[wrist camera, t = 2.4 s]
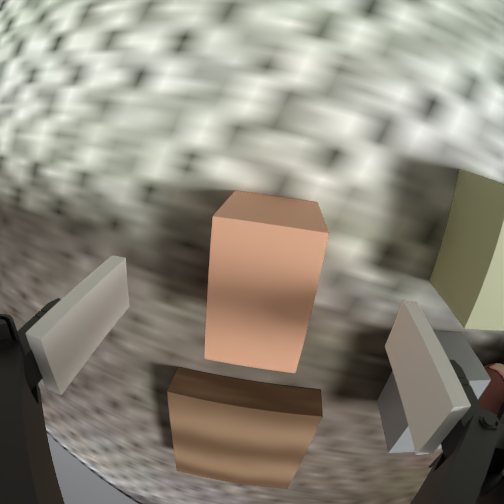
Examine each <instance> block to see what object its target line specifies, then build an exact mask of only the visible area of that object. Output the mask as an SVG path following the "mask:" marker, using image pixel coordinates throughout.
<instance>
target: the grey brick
mask: <svg viewBox="0 0 504 504" xmlns="http://www.w3.org/2000/svg"><path fill="white" fill-rule="evenodd" d="M433 331H434V333H435V335H436V337H437V338H438V340H439V342H440V344H441V346H442V348H443V350H444V351H445V353H446V355H447V357H448V359H449V360H455V361H456V362H457V363H458V364H459V365H460V366H461V367H462V369H463V371H464V373H465V375H466V378H467V379H468V381H469V383H470V385H471V387H472V389H473V391H474V393H475V395H476V397H477V399H479V397H480V396H481V394H482V393H483V391H484V390H485V388H486V387H487V385H488V384H489V382H490V381H491V378H490V377H489V375H488V373H487V372H486V370H485V368H484V367H483V365H482V364H481V362H480V360H479V359H478V357H477V355H476V354H475V352H474V351H473V349H472V348H471V346H470V345H469V343H468V341H467V340H466V338H465V337H464V335H463V334H462V332H451V331H437V330H433ZM377 402H378V406H379V411H380V415H381V420H382V425H383V429H384V434H385V439H386V444H387V449H388V453H398V452H412V451H415V449H414V445H413V441H412V437H411V433H410V429H409V425H408V422H407V418H406V414H405V411H404V407H403V404H402V400H401V397H400V393H399V390H398V387H397V383H396V380H395V377H394V374H393V370H392V372H391V375H390V377H389V379H388V381H387V383H386V385H385V386H384V388H383V390H382V392H381V394H380V396H379V398H378V400H377ZM441 447H442V446H441V444H440V445H439V446H438V448H437V449H440V448H441Z"/></svg>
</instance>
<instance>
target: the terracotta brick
mask: <svg viewBox="0 0 504 504" xmlns="http://www.w3.org/2000/svg"><path fill="white" fill-rule="evenodd" d="M328 235H329V232H328V229H327V227H326V224H325V221H324V218H323V216H322V213H321V210H320V207H319V205H318V202H312V201H305V200H299V199H293V198H286V197H279V196H272V195H265V194H258V193H250V192H243V191H234V192H233V194H232V195H231V196H230V197H229V198H228V199H227V200H226V202H225V203H224V204H223V205H222V206H221V207H220V208H219V209H218V211H217V212H216V213H215V214H214V215H213V218H212V231H211V245H210V260H209V276H208V293H207V312H206V334H205V359H209V360H214V361H219V362H225V363H230V364H236V365H242V366H248V367H255V368H261V369H268V370H275V371H282V372H290V373H296V369H297V366H298V362H299V358H300V355H301V351H302V347H303V343H304V339H305V336H306V332H307V328H308V324H309V320H310V316H311V312H312V307H313V303H314V299H315V295H316V291H317V286H318V282H319V277H320V273H321V268H322V264H323V259H324V254H325V250H326V245H327V240H328Z"/></svg>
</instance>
